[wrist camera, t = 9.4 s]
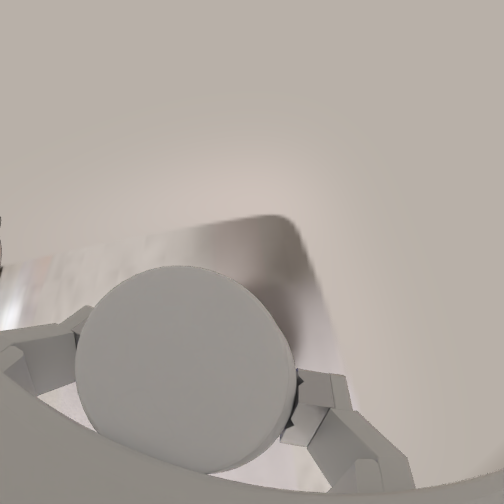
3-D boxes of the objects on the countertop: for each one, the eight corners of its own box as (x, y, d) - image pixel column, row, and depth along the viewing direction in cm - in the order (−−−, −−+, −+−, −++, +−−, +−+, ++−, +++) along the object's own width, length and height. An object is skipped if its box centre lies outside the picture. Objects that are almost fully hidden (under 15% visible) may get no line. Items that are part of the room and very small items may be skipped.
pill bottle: (160, 335, 14) (64, 233, 6) (266, 334, 14) (307, 224, 6) (161, 438, 12) (44, 479, 3) (273, 438, 12) (337, 500, 3)
